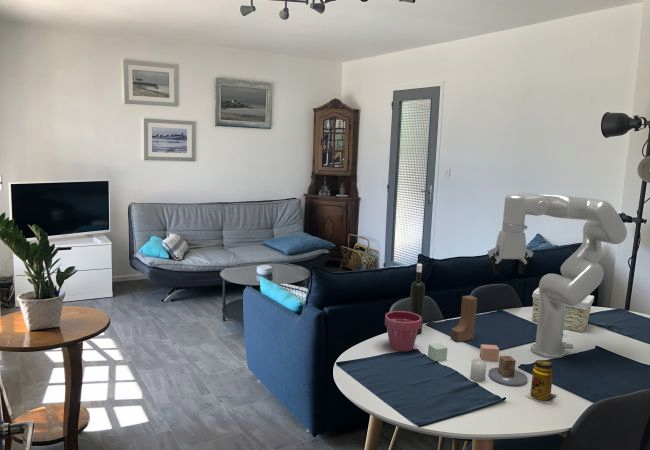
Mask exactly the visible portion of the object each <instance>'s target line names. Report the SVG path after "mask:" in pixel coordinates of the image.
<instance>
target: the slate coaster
mask: <svg viewBox="0 0 650 450" xmlns="http://www.w3.org/2000/svg"><path fill="white" fill-rule="evenodd" d="M498 369H499V366H498V367H497V366H496V367H492V368H490V369H489V370H488V373H487V374H488V375H487V376H488V378H490V380H491V381H493V382H495V383H497V384H500V385H503V386H507V387H523V386H525V385H527V384H528V376H527V375H526V374H525V373H524V372H522V371H520V370H517V369H515V373H514V377H503V376H502V375H501V374H500V373H499V372H498Z"/></svg>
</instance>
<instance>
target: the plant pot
mask: <svg viewBox="0 0 650 450" xmlns="http://www.w3.org/2000/svg"><path fill="white" fill-rule="evenodd" d="M384 325H385V327H386V330H387V337H388V341H389V347H390V348H391V349H392V350H394V351H398V352H411V351H413V350H414V349H413V348H414V346H415V343H416V339H417V333H418V329H420V328H421V316H419V315H417V314H415V313H411V312H409V311H403V310H394V311H390V312H387V313H385V316H384Z"/></svg>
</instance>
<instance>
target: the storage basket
mask: <svg viewBox="0 0 650 450" xmlns="http://www.w3.org/2000/svg"><path fill="white" fill-rule="evenodd" d="M594 300H595V296H594V295H591V294H589V295H588V296H587V297H586V298H585V299H584V300H583V301H582V302H581V303H579V304H577V305H574V306H570V305H566V304H565V309H566V313H565V321H564V329H563V330H571V331H575V332H579V333H582V332H583V331H584V330H585V329H586V327H588V322H589V318H590V313H591V310H592V309H591V308H592V304H593V303H594ZM539 307H540V294H539V287H537V288H536V289H535V290H534V291H533V293H532V321H533V322H536V323H538V316H539Z"/></svg>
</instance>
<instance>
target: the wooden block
mask: <svg viewBox="0 0 650 450" xmlns="http://www.w3.org/2000/svg"><path fill="white" fill-rule="evenodd" d="M477 303H478V297H475V296H473V295H462V297H461V306H460V308H461V309H460V319H459V323H458V324H457V325H456V326H454V327H452V328H451V329H450V340H452V341H455V342H457V343H459V342H465V341H466V342H467V341H471V339H472V340H474V338H475V329H476V318H477V317H476V316H477V307H478V304H477Z"/></svg>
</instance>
